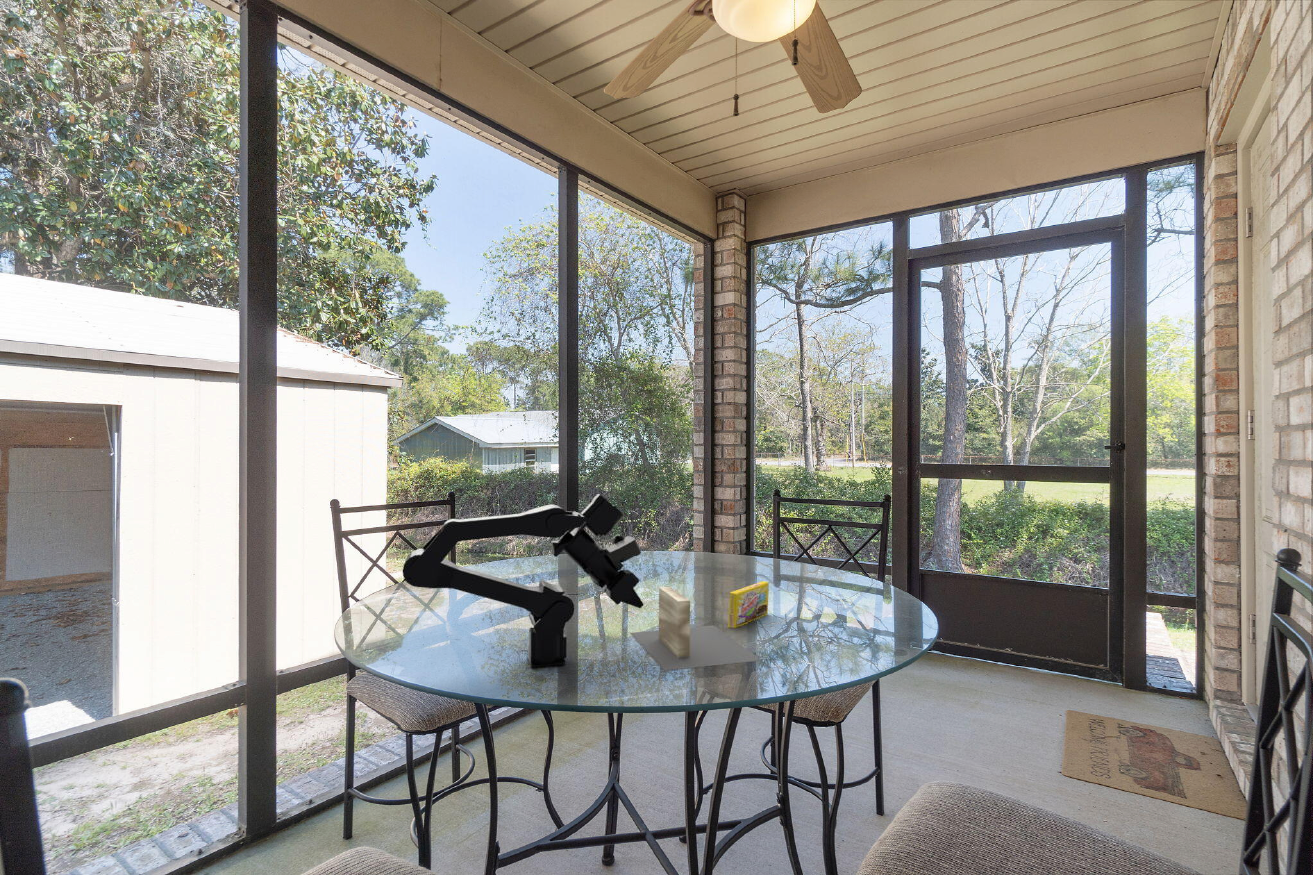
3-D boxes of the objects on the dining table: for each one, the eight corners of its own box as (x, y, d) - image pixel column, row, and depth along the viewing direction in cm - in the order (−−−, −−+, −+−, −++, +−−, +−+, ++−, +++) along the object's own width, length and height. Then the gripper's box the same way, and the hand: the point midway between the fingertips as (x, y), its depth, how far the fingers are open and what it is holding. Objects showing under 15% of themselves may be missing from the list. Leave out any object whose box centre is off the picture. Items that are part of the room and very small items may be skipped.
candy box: (735, 630, 144) (736, 593, 144) (727, 628, 146) (728, 592, 146) (769, 615, 157) (769, 581, 157) (761, 613, 159) (761, 580, 159)
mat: (664, 672, 118) (664, 670, 118) (629, 634, 140) (629, 632, 140) (762, 661, 124) (762, 660, 124) (713, 626, 147) (713, 625, 147)
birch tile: (677, 657, 125) (678, 601, 125) (658, 639, 136) (659, 587, 136) (689, 656, 126) (690, 600, 126) (669, 638, 137) (670, 586, 137)
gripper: (628, 530, 118) (684, 586, 122) (605, 518, 136) (654, 567, 139) (586, 575, 116) (644, 631, 119) (568, 557, 134) (619, 606, 137)
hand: (641, 606), depth 129 cm, fingers closed
